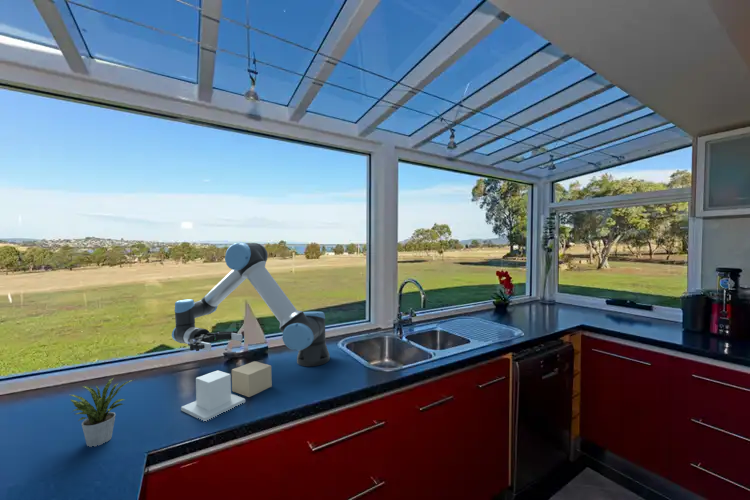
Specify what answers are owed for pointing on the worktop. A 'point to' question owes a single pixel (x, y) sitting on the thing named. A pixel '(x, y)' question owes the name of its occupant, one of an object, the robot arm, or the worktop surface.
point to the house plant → (98, 415)
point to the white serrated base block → (212, 396)
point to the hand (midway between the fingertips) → (226, 342)
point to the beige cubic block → (251, 378)
